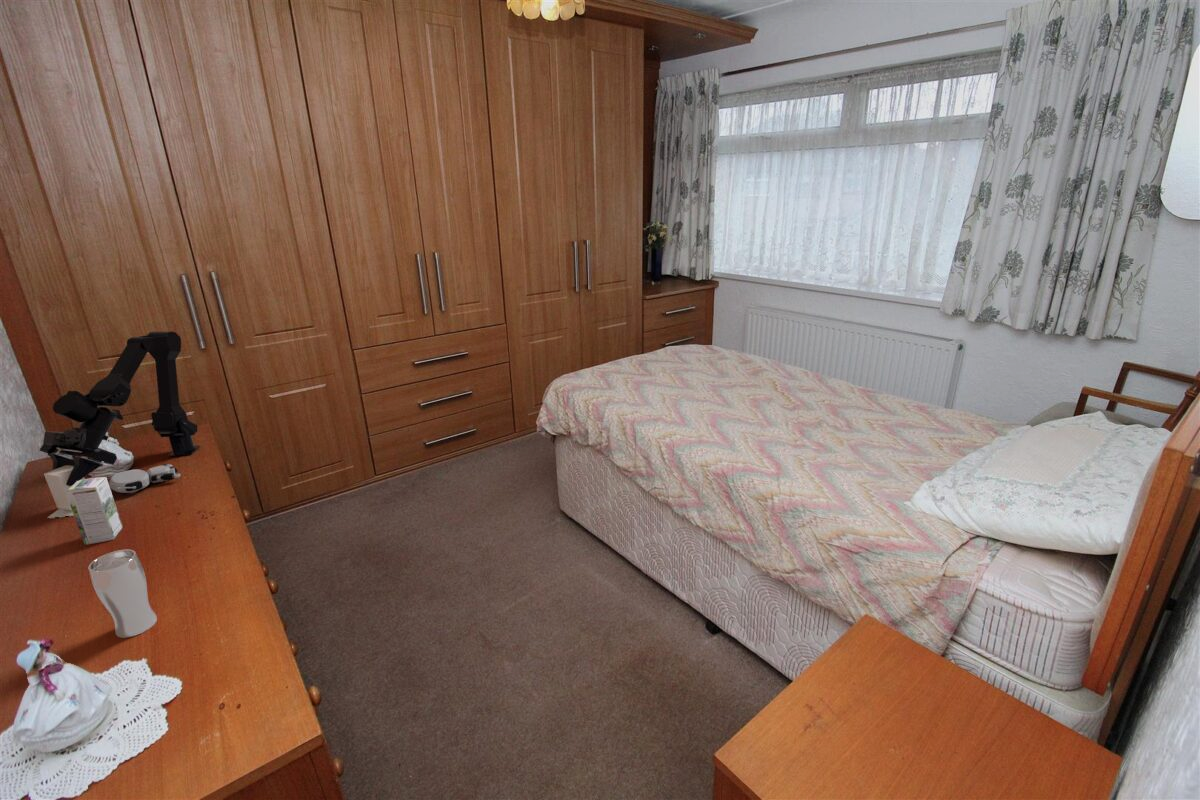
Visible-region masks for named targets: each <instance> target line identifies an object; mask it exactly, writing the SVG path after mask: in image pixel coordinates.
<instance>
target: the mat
mask: <svg viewBox="0 0 1200 800" xmlns="http://www.w3.org/2000/svg"><path fill="white" fill-rule="evenodd" d="M65 516H69V517H74V514H73V511H72V510H67V509H61V508H57V509H56V511H54V512H53V513H51V514H50V515H48V516H47V519H48V518H49V519H56V518H55V517H59V518H66V517H65Z"/></svg>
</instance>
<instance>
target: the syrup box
mask: <svg viewBox="0 0 1200 800" xmlns="http://www.w3.org/2000/svg"><path fill="white" fill-rule="evenodd" d="M112 493H113V492H112V489H111V486H110V483H109V481H108V479H107V477H106V476H105V477H104V476H103V477H90V478H85V479H84V480H79V481H77V482H76V483H75V484H74V485H73V486H72V487H70V488H69V489H68V490H67V491H66V495H67V497H68V500H69V503H70V506H71V509H72V511H73V514H74V516H73V517H74V519H75V522H76V525H77V528H78V531H79V534H80V537H81V539H82V542H83V544H84V545H86V546H87V545H93V544H99V543H103V542H108V541H113V540H115V539H116V537H118V534H119V533H120V532H121V531H122V530H123V528H124V526H123V523H122V520H121V518H120V514H119V511H118V508H117V505H116V504H117V503H116V502H115V499H114V496H113V494H112Z"/></svg>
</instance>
